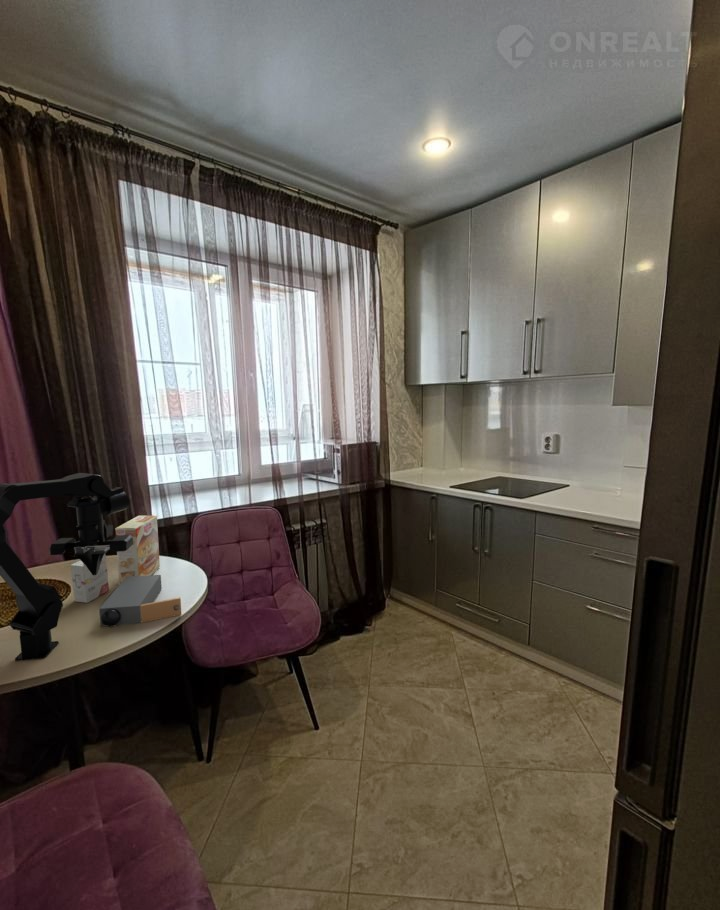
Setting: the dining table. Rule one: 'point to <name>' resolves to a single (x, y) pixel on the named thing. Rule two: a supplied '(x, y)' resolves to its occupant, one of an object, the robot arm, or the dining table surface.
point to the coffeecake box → (139, 548)
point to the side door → (160, 609)
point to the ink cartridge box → (89, 581)
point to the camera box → (129, 600)
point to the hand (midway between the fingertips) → (95, 574)
